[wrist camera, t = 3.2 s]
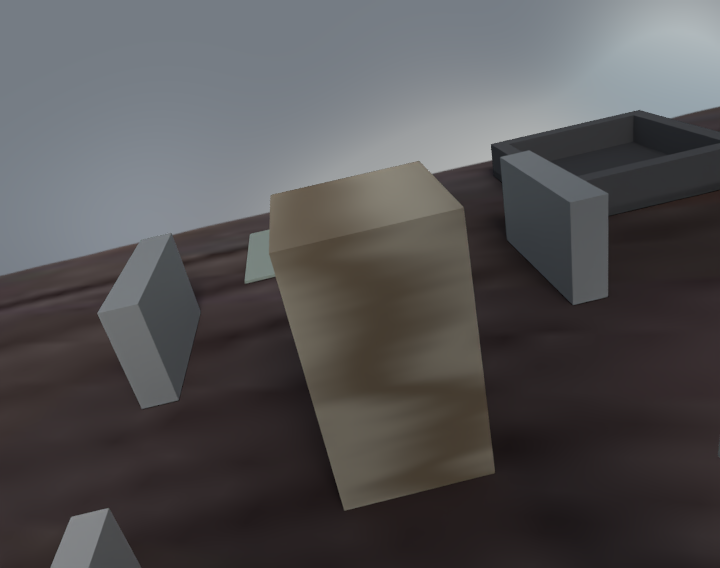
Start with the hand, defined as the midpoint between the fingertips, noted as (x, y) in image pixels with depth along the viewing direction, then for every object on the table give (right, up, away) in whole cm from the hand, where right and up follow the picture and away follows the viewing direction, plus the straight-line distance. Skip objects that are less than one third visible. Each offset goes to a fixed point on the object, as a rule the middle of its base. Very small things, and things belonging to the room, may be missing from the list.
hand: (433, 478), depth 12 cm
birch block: (0, -3, +13) cm, 13 cm away
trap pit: (+19, +13, +35) cm, 41 cm away
